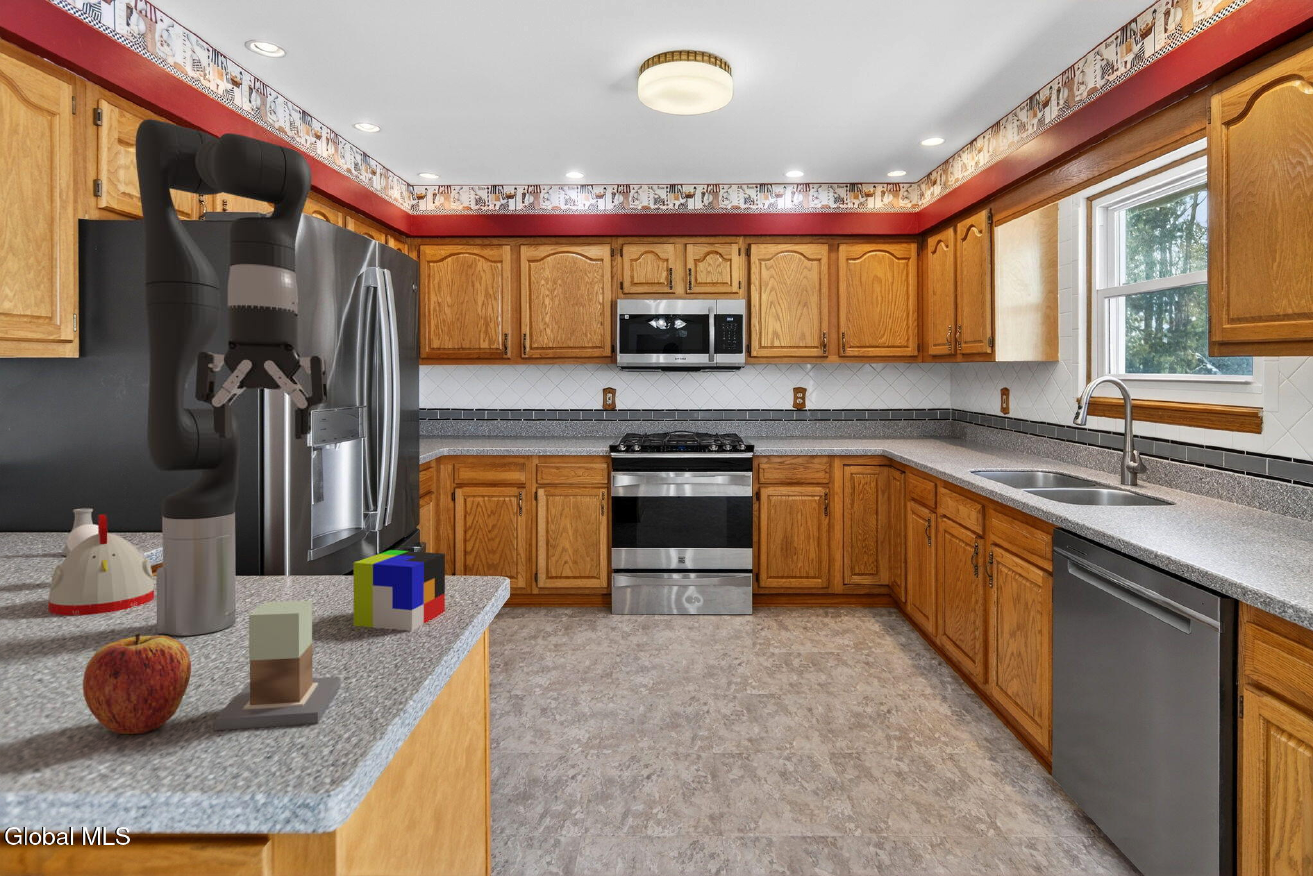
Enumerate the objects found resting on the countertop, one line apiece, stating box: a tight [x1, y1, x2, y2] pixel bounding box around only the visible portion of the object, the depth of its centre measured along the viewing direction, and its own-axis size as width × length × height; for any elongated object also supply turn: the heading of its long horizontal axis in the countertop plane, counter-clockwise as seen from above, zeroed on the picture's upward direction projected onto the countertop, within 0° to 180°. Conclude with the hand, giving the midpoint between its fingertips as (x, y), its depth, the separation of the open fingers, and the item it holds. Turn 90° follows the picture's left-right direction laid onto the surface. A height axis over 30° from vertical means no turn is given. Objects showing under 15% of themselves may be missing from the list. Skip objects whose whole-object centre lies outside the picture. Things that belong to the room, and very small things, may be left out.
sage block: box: [248, 600, 313, 661], centre depth 78 cm, size 5×5×5 cm
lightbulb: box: [66, 523, 99, 551], centre depth 129 cm, size 6×6×11 cm
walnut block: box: [249, 642, 313, 705], centre depth 78 cm, size 5×5×5 cm
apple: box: [82, 633, 192, 735], centre depth 73 cm, size 9×9×10 cm
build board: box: [214, 676, 341, 731], centre depth 79 cm, size 10×10×1 cm
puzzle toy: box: [353, 549, 446, 632], centre depth 111 cm, size 10×10×10 cm
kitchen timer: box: [48, 514, 155, 616], centre depth 117 cm, size 14×14×15 cm
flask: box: [60, 508, 94, 557], centre depth 153 cm, size 7×7×10 cm
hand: (263, 438), depth 86 cm, fingers open, 8 cm apart
